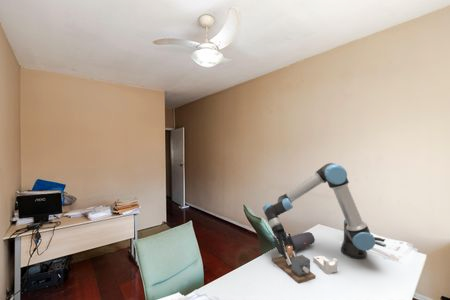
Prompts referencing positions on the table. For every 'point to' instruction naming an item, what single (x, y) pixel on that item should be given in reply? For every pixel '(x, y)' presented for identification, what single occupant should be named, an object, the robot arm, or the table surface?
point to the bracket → (326, 264)
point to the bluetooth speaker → (302, 240)
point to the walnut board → (282, 264)
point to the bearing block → (299, 265)
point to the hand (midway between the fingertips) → (293, 263)
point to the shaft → (290, 254)
